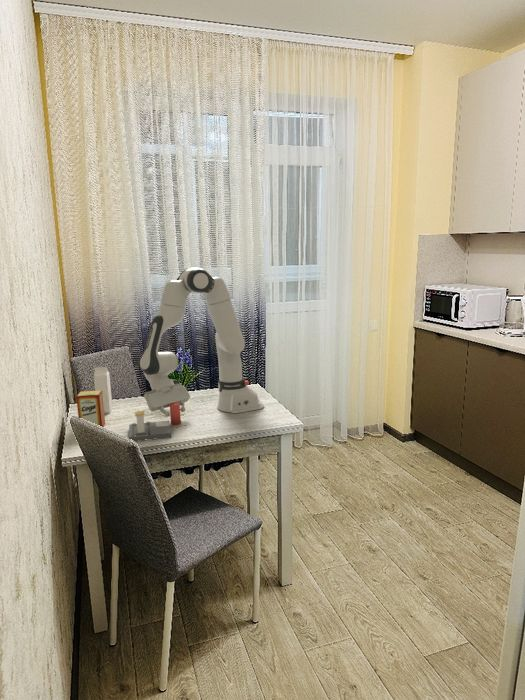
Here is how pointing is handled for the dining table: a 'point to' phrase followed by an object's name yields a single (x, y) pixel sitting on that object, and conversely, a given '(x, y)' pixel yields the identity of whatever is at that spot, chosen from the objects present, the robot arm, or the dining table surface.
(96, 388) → the milk
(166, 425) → the panel
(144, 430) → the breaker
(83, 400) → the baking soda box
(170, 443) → the dining table surface
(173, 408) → the cap
